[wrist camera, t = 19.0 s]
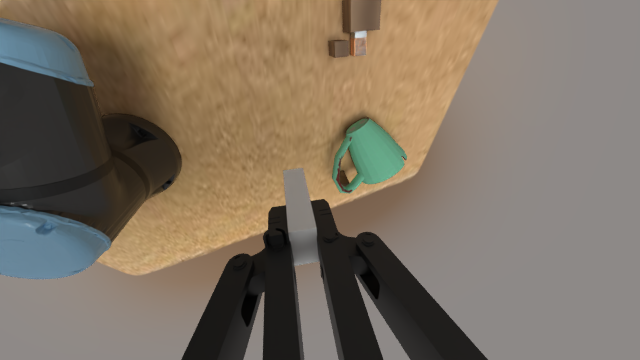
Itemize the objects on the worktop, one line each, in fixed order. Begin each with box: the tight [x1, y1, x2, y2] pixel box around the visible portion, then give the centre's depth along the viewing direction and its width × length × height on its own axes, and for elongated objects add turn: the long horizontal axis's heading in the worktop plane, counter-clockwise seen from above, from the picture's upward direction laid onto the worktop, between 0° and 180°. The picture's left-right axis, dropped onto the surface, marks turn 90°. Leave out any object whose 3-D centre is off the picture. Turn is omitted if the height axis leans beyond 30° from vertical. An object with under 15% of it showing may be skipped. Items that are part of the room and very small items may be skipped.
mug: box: [332, 118, 407, 193], centre depth 44 cm, size 15×10×10 cm
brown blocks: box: [328, 0, 381, 187], centre depth 41 cm, size 7×32×5 cm, turn 4°
